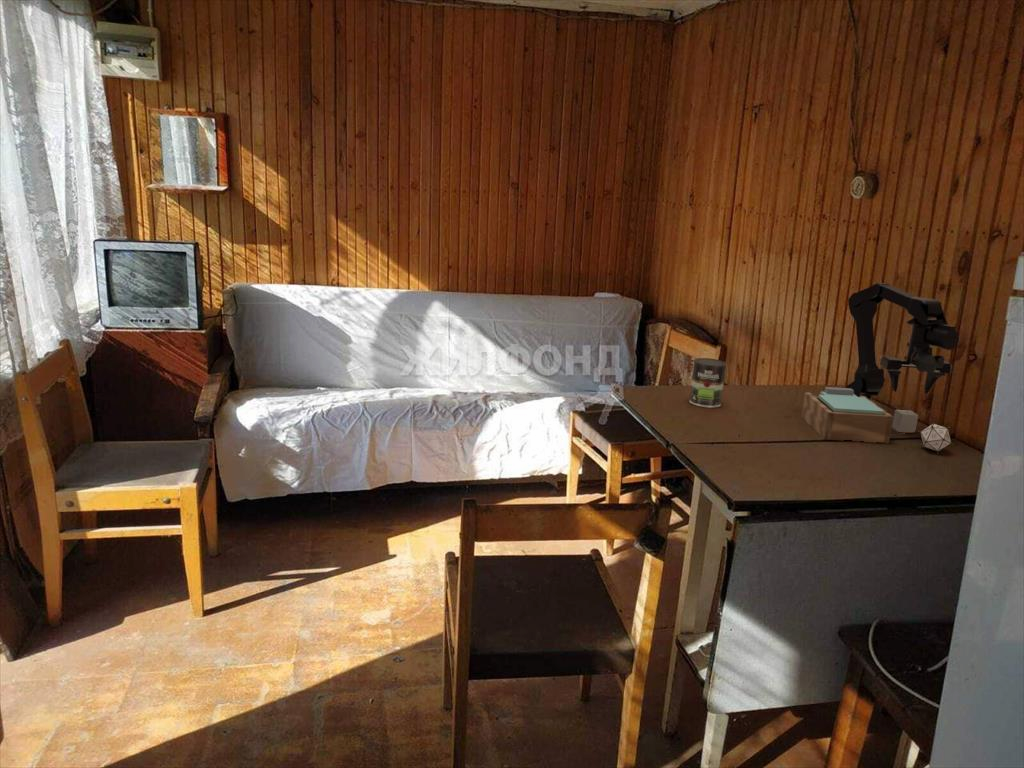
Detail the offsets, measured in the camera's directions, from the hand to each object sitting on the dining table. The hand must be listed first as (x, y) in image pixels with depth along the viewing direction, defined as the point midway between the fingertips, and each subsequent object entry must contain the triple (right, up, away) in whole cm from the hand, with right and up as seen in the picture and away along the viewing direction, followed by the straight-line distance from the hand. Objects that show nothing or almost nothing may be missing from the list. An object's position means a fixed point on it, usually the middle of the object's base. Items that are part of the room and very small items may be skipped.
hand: (910, 392), depth 236 cm
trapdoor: (-19, -4, 0) cm, 19 cm away
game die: (0, -17, -13) cm, 21 cm away
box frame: (-20, -11, +2) cm, 23 cm away
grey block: (0, -12, +3) cm, 12 cm away
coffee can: (-57, -4, +21) cm, 61 cm away
